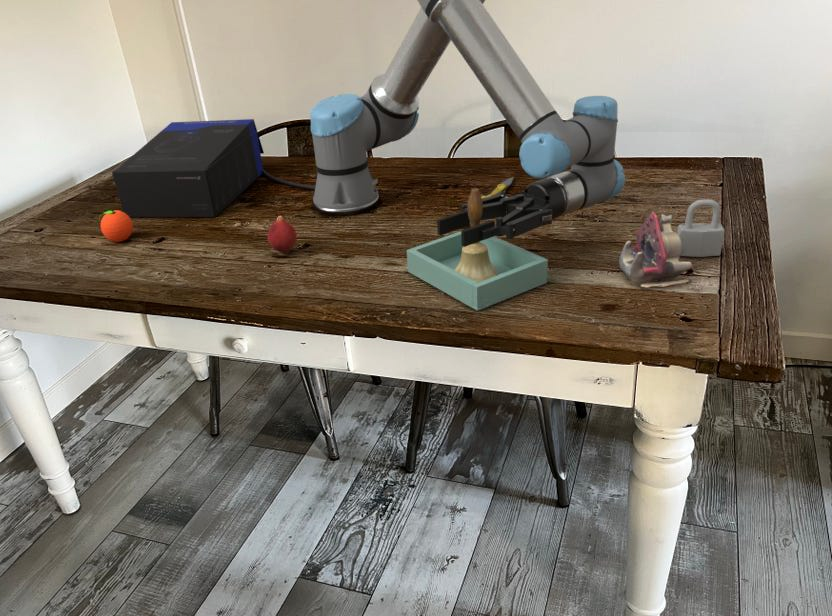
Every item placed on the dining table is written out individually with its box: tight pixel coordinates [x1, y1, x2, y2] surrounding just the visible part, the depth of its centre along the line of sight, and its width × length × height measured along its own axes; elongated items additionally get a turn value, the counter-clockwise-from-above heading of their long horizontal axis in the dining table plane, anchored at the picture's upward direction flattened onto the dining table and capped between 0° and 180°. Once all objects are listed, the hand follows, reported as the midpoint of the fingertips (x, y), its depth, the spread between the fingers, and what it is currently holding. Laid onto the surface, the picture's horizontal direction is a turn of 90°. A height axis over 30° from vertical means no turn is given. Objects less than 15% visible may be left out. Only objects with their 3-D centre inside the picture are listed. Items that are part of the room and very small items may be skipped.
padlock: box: [676, 198, 725, 258], centre depth 130 cm, size 7×4×10 cm, turn 78°
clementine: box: [98, 209, 134, 243], centre depth 166 cm, size 8×7×7 cm
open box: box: [406, 230, 549, 312], centre depth 133 cm, size 20×15×4 cm
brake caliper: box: [618, 211, 693, 289], centre depth 126 cm, size 11×11×12 cm
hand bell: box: [454, 187, 499, 283], centre depth 130 cm, size 8×8×16 cm
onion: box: [267, 215, 298, 255], centre depth 150 cm, size 6×6×8 cm
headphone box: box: [111, 118, 265, 218], centre depth 188 cm, size 25×35×14 cm
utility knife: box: [481, 176, 515, 199], centre depth 170 cm, size 16×1×3 cm
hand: (450, 233), depth 127 cm, fingers open, 6 cm apart
